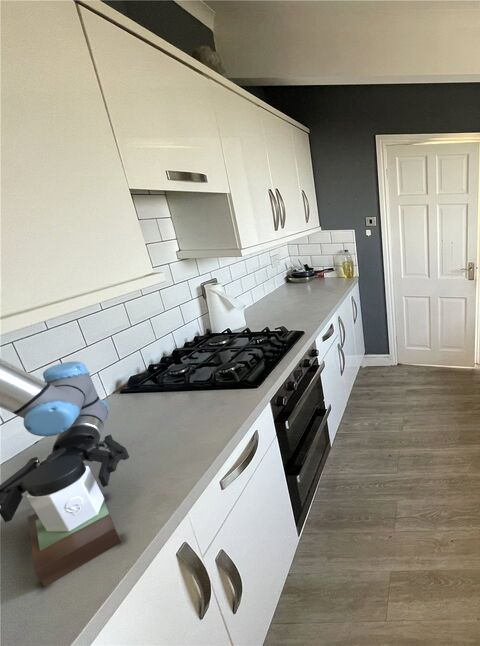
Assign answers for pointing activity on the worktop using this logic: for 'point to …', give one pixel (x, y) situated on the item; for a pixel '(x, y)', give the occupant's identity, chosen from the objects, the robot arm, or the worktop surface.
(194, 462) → the worktop surface
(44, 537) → the green-topped wooden base
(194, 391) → the worktop surface
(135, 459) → the worktop surface
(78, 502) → the jar
